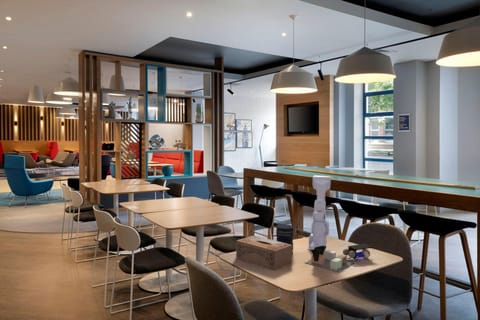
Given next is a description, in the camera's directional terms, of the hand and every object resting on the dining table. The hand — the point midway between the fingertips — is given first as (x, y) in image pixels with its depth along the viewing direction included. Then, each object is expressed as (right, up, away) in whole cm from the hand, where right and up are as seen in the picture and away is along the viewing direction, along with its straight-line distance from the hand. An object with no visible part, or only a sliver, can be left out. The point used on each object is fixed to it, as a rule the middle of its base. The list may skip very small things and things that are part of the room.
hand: (317, 260), depth 196 cm
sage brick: (+8, -2, -7) cm, 11 cm away
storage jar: (-15, 0, +18) cm, 23 cm away
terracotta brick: (0, -1, 0) cm, 1 cm away
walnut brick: (+12, -2, -1) cm, 12 cm away
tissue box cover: (-28, -1, +2) cm, 28 cm away
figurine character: (+23, -2, +7) cm, 24 cm away
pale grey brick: (+8, -1, +7) cm, 10 cm away
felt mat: (+7, -2, +1) cm, 7 cm away
